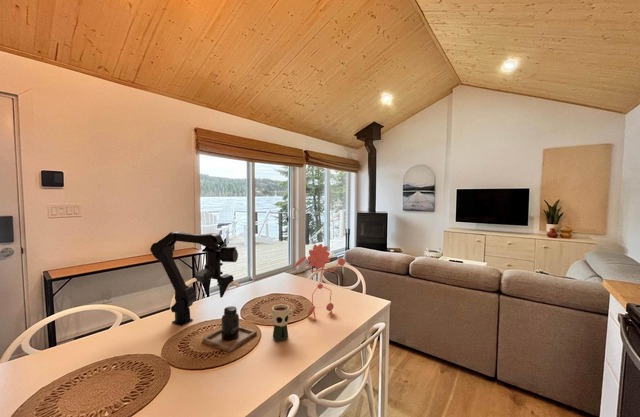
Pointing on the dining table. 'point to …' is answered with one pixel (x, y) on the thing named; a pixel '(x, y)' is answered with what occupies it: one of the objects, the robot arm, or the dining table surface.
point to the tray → (229, 346)
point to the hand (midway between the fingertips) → (214, 295)
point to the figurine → (318, 260)
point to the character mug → (280, 321)
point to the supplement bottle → (230, 324)
